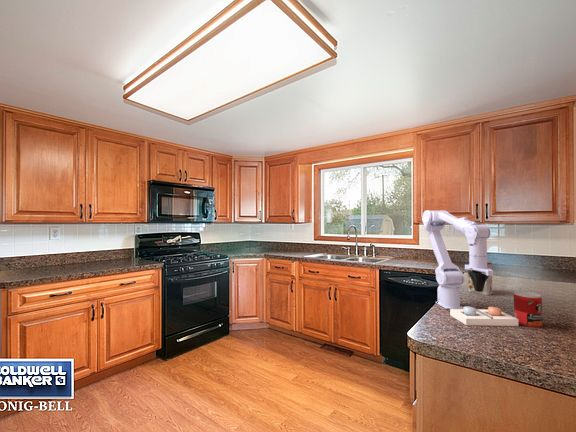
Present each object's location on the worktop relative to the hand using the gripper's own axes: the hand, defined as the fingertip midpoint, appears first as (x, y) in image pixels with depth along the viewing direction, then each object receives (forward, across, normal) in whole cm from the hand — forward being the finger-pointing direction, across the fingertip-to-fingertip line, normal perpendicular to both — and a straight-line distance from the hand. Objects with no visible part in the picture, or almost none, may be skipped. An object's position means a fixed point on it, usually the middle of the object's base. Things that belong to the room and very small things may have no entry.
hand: (478, 291), depth 108 cm
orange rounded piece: (+9, +2, +4) cm, 10 cm away
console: (+10, +2, 0) cm, 11 cm away
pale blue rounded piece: (+9, +2, -4) cm, 10 cm away
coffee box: (+10, -40, +25) cm, 48 cm away
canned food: (+11, +5, +14) cm, 18 cm away
